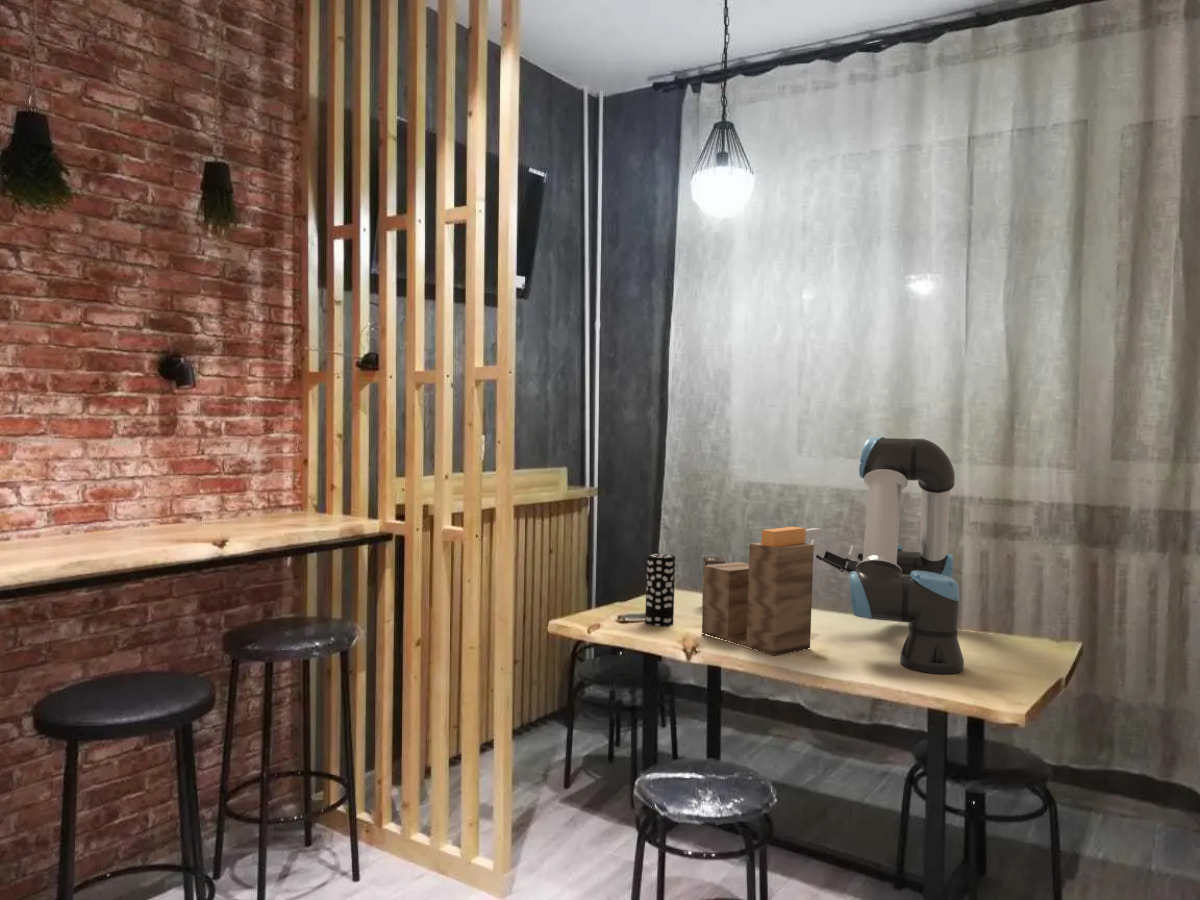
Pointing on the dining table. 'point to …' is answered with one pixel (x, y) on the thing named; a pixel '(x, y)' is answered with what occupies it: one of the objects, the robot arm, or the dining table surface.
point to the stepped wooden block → (761, 599)
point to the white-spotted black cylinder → (660, 589)
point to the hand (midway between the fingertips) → (830, 546)
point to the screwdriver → (788, 536)
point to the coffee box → (711, 562)
